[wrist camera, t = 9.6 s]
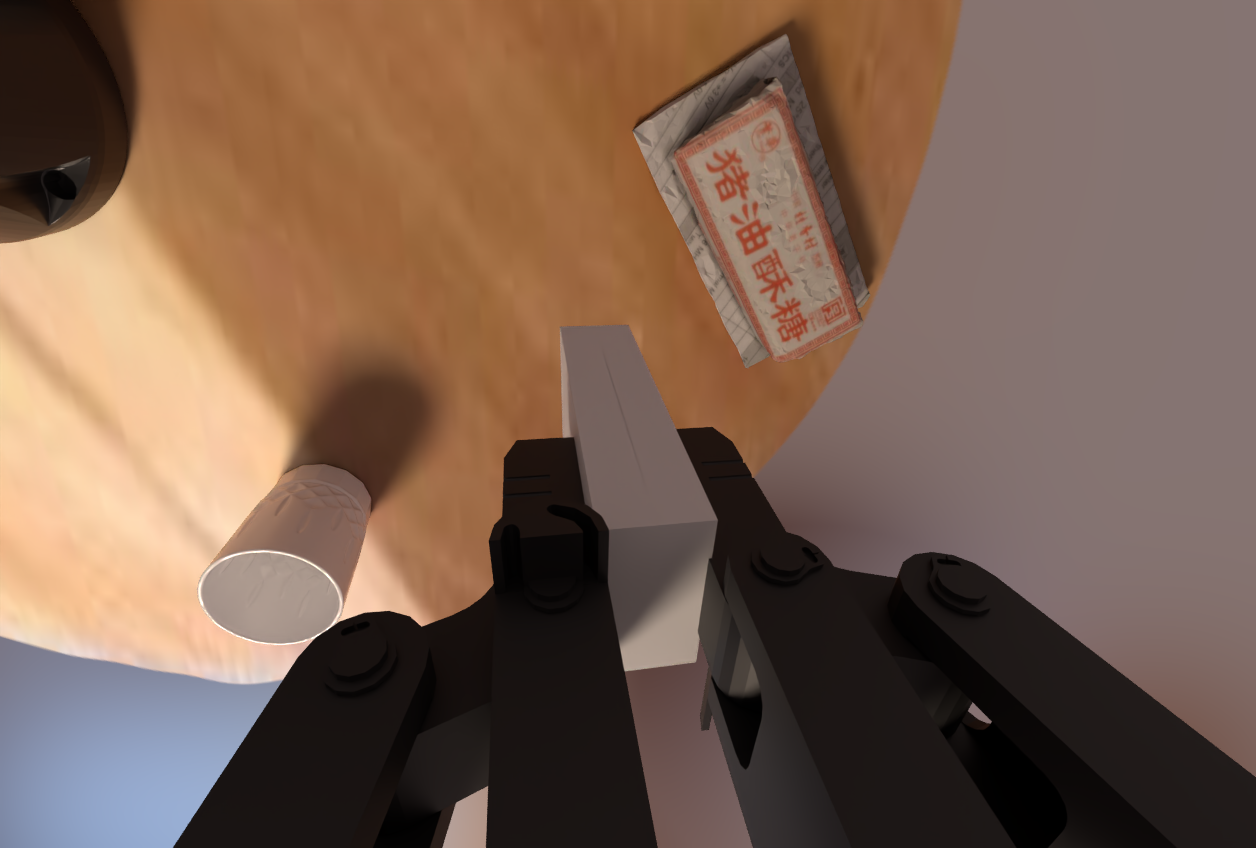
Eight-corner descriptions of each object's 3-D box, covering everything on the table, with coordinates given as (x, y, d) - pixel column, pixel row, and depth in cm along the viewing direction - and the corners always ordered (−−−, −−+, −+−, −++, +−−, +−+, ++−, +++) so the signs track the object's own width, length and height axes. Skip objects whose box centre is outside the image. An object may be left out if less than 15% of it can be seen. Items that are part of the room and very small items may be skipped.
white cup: (264, 448, 40) (190, 543, 31) (383, 463, 42) (344, 556, 33) (268, 535, 43) (203, 642, 35) (377, 545, 45) (341, 648, 37)
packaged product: (899, 316, 37) (764, 391, 39) (862, 295, 41) (741, 363, 43) (812, 22, 28) (640, 132, 30) (776, 33, 33) (626, 128, 34)
